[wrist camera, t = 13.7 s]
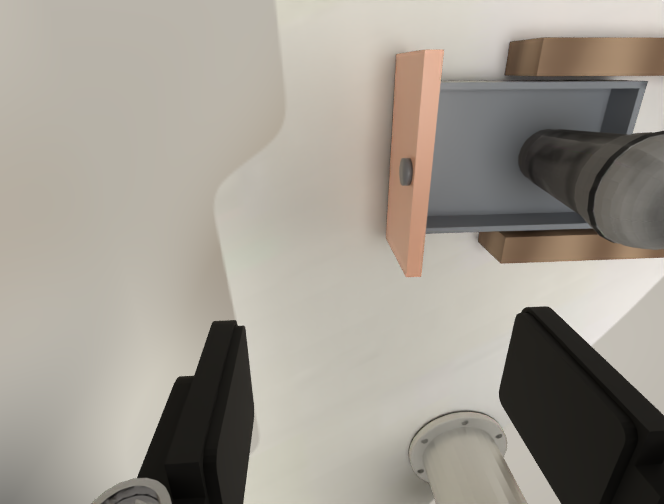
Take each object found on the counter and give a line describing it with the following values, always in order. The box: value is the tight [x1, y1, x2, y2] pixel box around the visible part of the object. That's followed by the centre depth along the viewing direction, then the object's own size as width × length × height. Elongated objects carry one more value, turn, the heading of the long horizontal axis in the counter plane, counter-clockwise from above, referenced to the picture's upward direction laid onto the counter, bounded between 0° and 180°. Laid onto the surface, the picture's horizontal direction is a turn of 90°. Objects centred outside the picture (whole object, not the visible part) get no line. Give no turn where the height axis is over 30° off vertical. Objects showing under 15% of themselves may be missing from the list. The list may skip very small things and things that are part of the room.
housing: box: [478, 38, 664, 263], centre depth 35 cm, size 20×18×5 cm
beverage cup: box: [518, 129, 664, 250], centre depth 26 cm, size 7×7×20 cm
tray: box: [386, 50, 648, 277], centre depth 33 cm, size 19×16×8 cm
